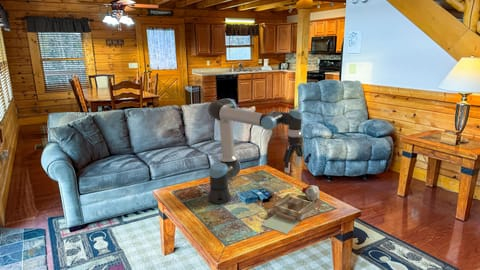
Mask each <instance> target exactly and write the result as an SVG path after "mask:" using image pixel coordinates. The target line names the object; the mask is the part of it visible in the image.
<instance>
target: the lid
mask: <svg viewBox="0 0 480 270" xmlns="http://www.w3.org/2000/svg"><path fill="white" fill-rule="evenodd" d="M300 223H301V221H297V220H296V218H295V217H292V216H289V215H286V214H283V213H280V212H276V213H274V214H273V215H272V216H271V217H269V218H268V219H266V220H265V221H264V222H263V223H262V224H261V226H263V227H265V228H268V229H271V230H274V231H277V232H278V233H279V232H280V233H281V234H285V235H288V233H290V232H291V231H292V230H293V229H294V228H296V226H297V225H298V224H300Z"/></svg>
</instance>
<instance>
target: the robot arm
mask: <svg viewBox="0 0 480 270" xmlns="http://www.w3.org/2000/svg"><path fill="white" fill-rule="evenodd" d="M207 107H208V108H207V113H208V115H209V116H210V117H211V118H212V119H214V120H216V121H217V122H218V123H219V133H220V145H221V158H220V161H219V162H218V163H213V164H211V166H210V168H209V172H208V174H209V185H210V186H209V187H210V189H209V191H208V195H207V201H208V202H209V204H210V203H211V204H213V205H224V204H227V203H229V202H231V200H232V195H231V192H230V191H229V189H230V188H229V181H230V180H231V179H233V178H236V177H237V175H239V174H240V173H241V170H242V165H241V162H240V161H239V160H238V157H237V156H236V154H235V141H234V140H235V139H234V128H233V127H234V126H233V122H237V123H241V124H247V125H251V126H257V127H262V128H263V129H264V130H267V131H269V130H273V129H275V128H276V127H278V126H280V125H283V126H288V128H287V129H288V130H287V135H288V136H287V143H289V145H286V146H285V147H286V148H285V153H284V156H283V160H282V162H283V163H284V173H287V174H290V165H291V162H290V161H291V158H292V156H293V154H294V153H295V154H296V156H295V167H298V168H300V167H301V161H302V157H303V155H304V152H303V148H302V147H303V146H302V141H301V138H302V136H301V134H302V122H303V112H302V110H300V109H294V108H293V109H289V111H288V112H287V111H285V112H284V111H278V110H272V111H270V112H269V114H268V113H267V114H266V113H262V112H255V111H251V110H250V111H249V110H244V109H240V108H237V104H236V103H235V101H234V100H233V99H232V98H222V99H217V100H214V101H212V102H210V104H208V106H207Z"/></svg>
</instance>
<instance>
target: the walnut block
mask: <svg viewBox="0 0 480 270" xmlns="http://www.w3.org/2000/svg"><path fill="white" fill-rule="evenodd" d="M301 204H302V201H301V200H298V199H294V198H292V199H291V200H289V201H288V209H291V210H294V211H297V212H299V211H300V210H301Z"/></svg>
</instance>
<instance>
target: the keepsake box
mask: <svg viewBox="0 0 480 270" xmlns="http://www.w3.org/2000/svg"><path fill="white" fill-rule="evenodd" d="M292 198H294V199H298V200H301V201H302V204H301V210H300V211H299V212H297V211H294V210H291V209H288V201H289V200H291V199H292ZM315 201H316V200H315ZM315 201H311V200H309V201H308V200H305V199H302V198H300V197H299V198H298V197H295V196H291V195H290V193H287V194H286V195H284V196H283V197H281V198H279V199H278V200H277V201H276V202H274V203H273V208H274V209H273V213H274V214H276V212H280V213H283V214H286V215H289V216H292V217H295V218H296V220H298V221H300V223H302V222H303V221H304V220H305V219H306V218H308V217H309V216H310V215H311V214H312V213H313V212H314V211H315Z"/></svg>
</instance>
